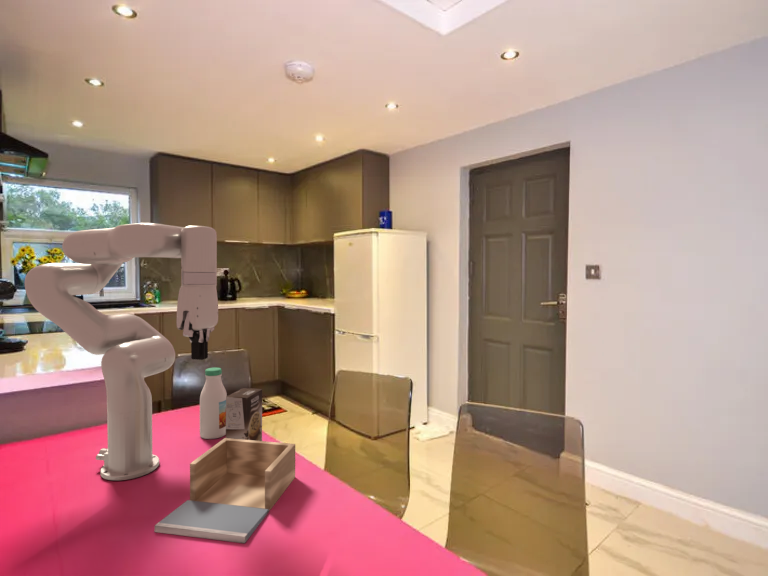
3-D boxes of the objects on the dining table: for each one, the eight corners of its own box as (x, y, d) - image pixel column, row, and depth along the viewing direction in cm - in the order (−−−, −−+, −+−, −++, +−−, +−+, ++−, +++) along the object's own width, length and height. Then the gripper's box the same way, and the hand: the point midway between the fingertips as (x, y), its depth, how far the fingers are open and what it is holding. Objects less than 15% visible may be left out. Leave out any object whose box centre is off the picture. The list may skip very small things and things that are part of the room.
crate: (190, 505, 91) (189, 463, 91) (224, 474, 105) (224, 437, 105) (270, 514, 88) (270, 471, 88) (295, 481, 102) (295, 443, 102)
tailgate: (188, 504, 91) (154, 531, 80) (189, 498, 91) (154, 525, 80) (269, 513, 88) (244, 543, 78) (269, 507, 88) (244, 536, 78)
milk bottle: (210, 442, 124) (210, 373, 123) (194, 436, 128) (193, 369, 127) (232, 433, 131) (232, 368, 130) (216, 428, 135) (216, 364, 134)
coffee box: (246, 458, 114) (246, 397, 113) (224, 455, 115) (224, 396, 115) (263, 444, 123) (263, 388, 122) (242, 442, 124) (242, 386, 124)
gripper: (203, 278, 108) (203, 351, 108) (163, 280, 93) (163, 365, 94) (230, 279, 106) (230, 353, 107) (195, 281, 92) (195, 366, 92)
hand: (199, 358), depth 100 cm, fingers closed
